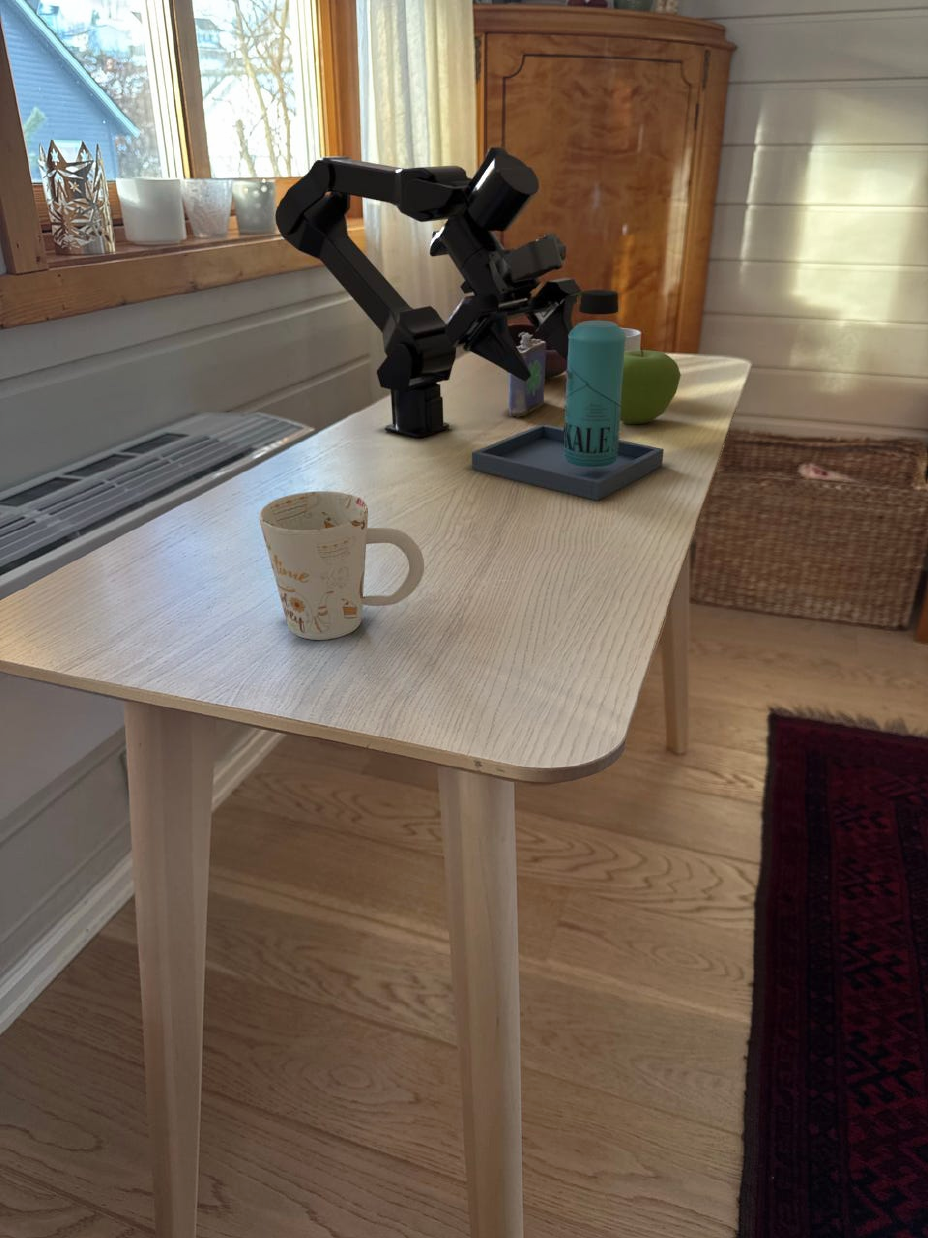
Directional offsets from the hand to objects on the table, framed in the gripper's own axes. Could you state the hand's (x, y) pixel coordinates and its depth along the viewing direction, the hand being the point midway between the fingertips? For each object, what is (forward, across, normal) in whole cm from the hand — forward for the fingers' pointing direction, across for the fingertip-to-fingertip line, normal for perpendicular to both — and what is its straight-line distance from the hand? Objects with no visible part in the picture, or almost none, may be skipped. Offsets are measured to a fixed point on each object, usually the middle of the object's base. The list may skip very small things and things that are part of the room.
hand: (553, 371), depth 103 cm
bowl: (-13, +32, +30) cm, 45 cm away
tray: (+9, +1, +6) cm, 11 cm away
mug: (+16, -42, 0) cm, 45 cm away
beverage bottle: (+12, 0, +4) cm, 12 cm away
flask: (-5, +17, +21) cm, 28 cm away
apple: (+6, +22, +10) cm, 25 cm away
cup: (-3, +33, +19) cm, 38 cm away
